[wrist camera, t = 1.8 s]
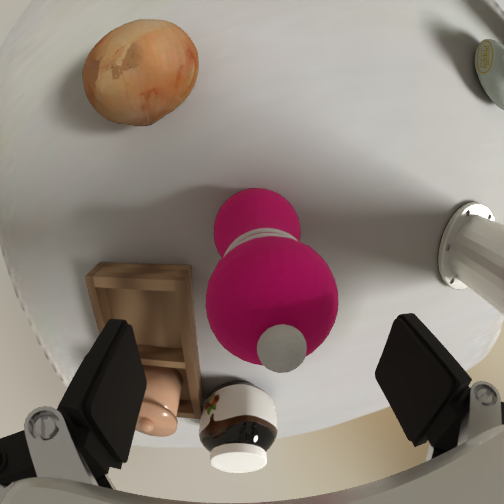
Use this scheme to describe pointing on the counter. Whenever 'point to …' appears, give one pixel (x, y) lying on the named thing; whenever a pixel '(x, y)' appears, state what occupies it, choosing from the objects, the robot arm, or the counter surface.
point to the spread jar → (238, 427)
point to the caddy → (154, 318)
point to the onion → (140, 72)
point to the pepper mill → (268, 284)
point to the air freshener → (491, 69)
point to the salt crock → (160, 401)
